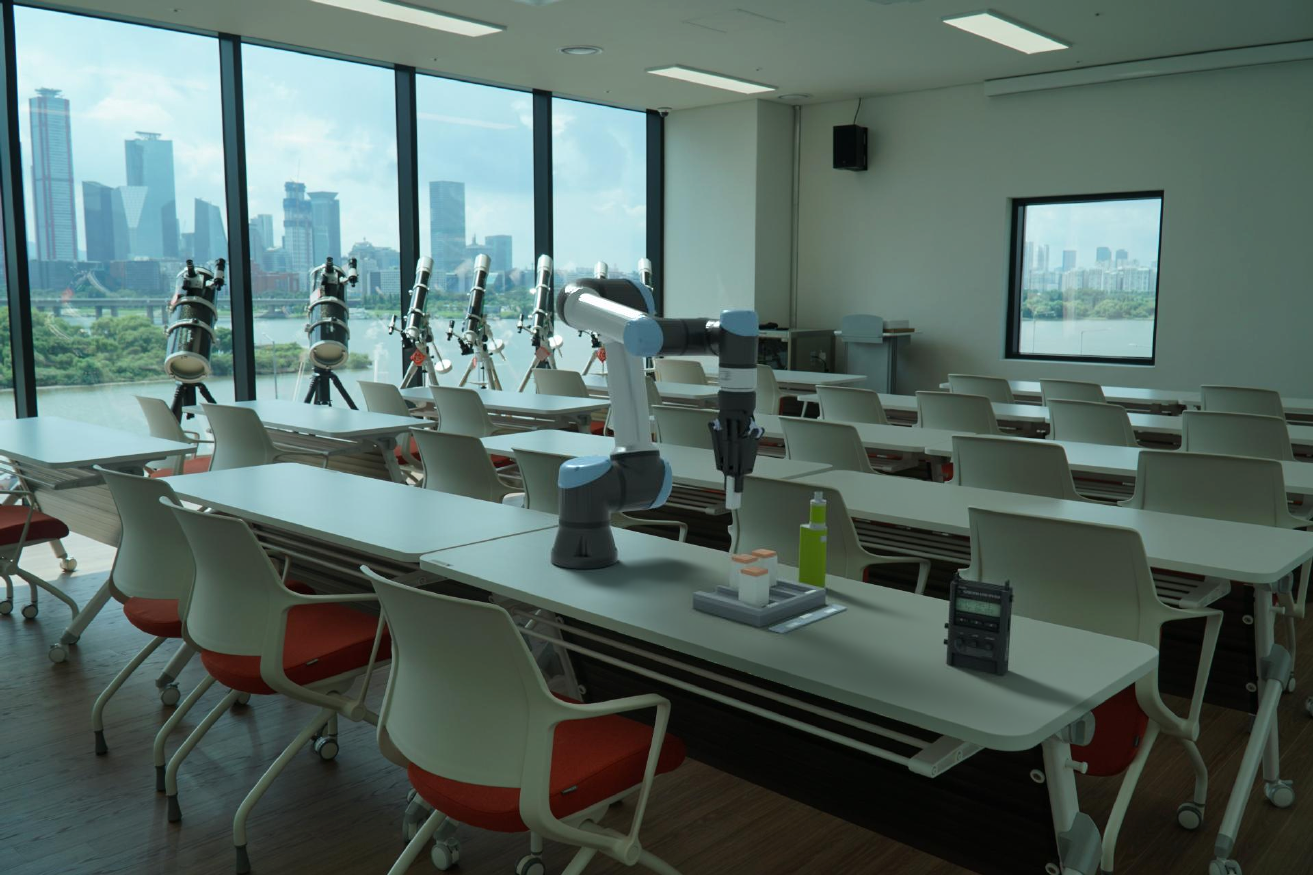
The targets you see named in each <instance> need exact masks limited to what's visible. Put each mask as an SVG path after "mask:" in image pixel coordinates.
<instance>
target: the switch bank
mask: <svg viewBox="0 0 1313 875" xmlns="http://www.w3.org/2000/svg"><path fill="white" fill-rule="evenodd" d="M826 591H827V589H826V587H825V588H821V587H817V586H813V585H808V584H804V583H800V582H798V581H796V580H795V581H794V580H791V579H787V578H782V577H778V576H777V585H775V586H772V587H769V605H766V606H763V607H758V606H754V605H751V604H747V603H743V602H739V590H737V589H733V588H730V586H724V585H722V584H719V585H716V590H715V591H712V592H709V593H708V592H705V591H701V590H699V591H695V592H693V593H692V594H693V596H692V609H693V610H694V609H695V610H697V611H700V612H704V613H708V614H711V615H716V616H719V617H722V618H727V619H729V620H733V621H737V622H740V623H744V624H746V625H751V626H754V627H757V628H761V627H764V626H767V625H769V624H773V623H775V622H778V621H781V620H784V619H786V618H789V617H792V616H795V615H797V614H800V613H802V612H805V611H808V610H811V609H814V608H817V607H819V606H822V605H825V604H826V597H827V596H826V593H827V592H826Z"/></svg>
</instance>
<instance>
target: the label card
mask: <svg viewBox="0 0 1313 875" xmlns="http://www.w3.org/2000/svg"><path fill="white" fill-rule="evenodd" d="M845 610H848V607H846V606H843V605H838V604H834V603H833V604H831V605H829V606H826V607H825V606H824V607H822V608H820V609H818V610H815V611H812V612H808V613H806V614H803V615H800V616H798V617H795V618H792V619H789V620H787V621H784V622H782V623H779V624H776V625H773V626H770V627H768V631H771V632H776V633H779V634H786V633H788V632H790V631H793V630H796V629H798V628H801V627H804V626H805V625H809V624H811V623H814V622H817V621H819V620H822V619H824V618H828V617H830V616H833V615H835V614H838V613H840V612H843V611H845Z"/></svg>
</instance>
